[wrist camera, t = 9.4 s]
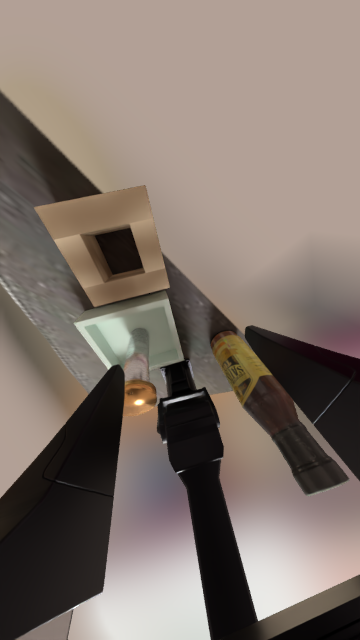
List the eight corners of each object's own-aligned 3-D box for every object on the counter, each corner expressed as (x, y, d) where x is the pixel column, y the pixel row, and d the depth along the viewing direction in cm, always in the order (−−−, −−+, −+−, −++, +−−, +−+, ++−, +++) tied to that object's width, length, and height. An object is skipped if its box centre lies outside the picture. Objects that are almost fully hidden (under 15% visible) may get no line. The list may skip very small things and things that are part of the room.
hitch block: (166, 279, 19) (169, 287, 16) (104, 295, 19) (94, 306, 15) (146, 197, 15) (145, 185, 11) (61, 215, 14) (33, 207, 11)
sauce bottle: (210, 331, 26) (322, 493, 9) (239, 327, 27) (387, 466, 10) (207, 355, 29) (285, 506, 13) (233, 350, 30) (337, 485, 14)
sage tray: (180, 346, 27) (184, 360, 24) (120, 364, 26) (116, 380, 23) (165, 289, 20) (168, 298, 17) (84, 310, 19) (73, 323, 16)
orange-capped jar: (156, 341, 23) (161, 407, 14) (131, 348, 23) (120, 420, 14) (148, 320, 21) (148, 384, 12) (121, 328, 21) (98, 399, 11)
